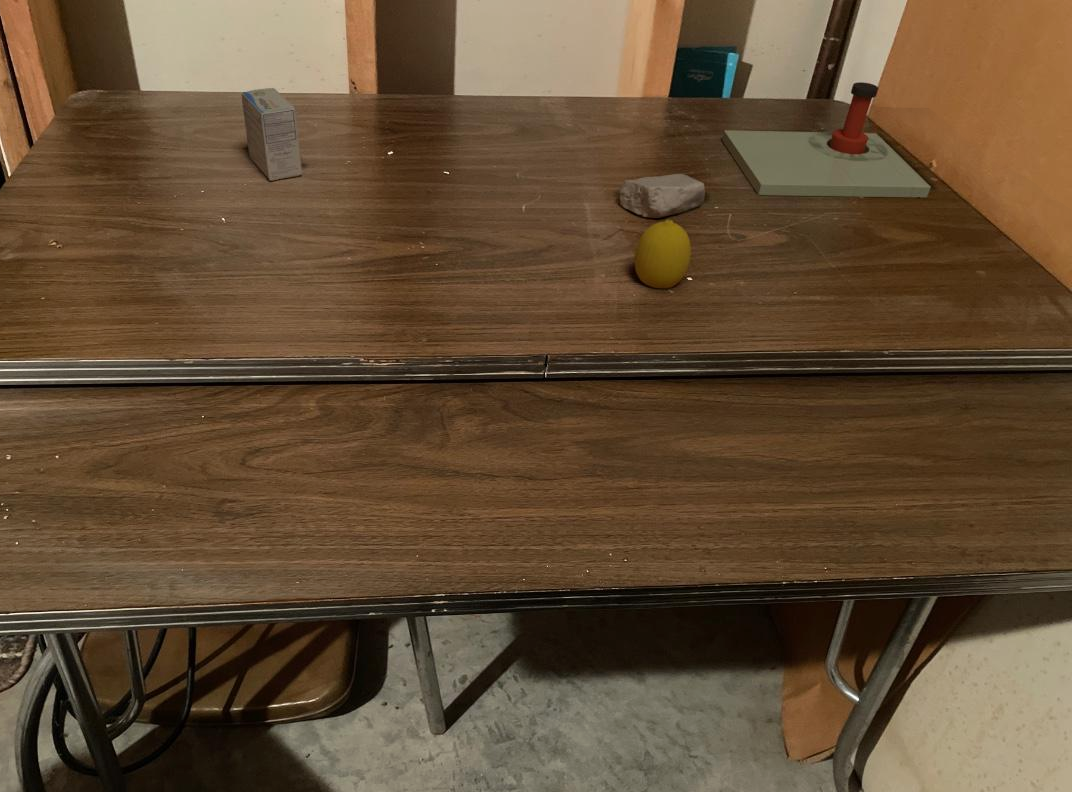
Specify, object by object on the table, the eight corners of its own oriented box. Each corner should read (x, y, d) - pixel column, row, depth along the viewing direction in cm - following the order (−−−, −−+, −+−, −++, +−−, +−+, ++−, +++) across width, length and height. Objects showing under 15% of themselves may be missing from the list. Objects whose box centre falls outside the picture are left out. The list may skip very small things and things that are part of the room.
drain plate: (872, 142, 131) (875, 132, 130) (926, 198, 117) (931, 186, 116) (721, 139, 129) (723, 129, 128) (758, 195, 115) (761, 184, 114)
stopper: (854, 150, 128) (875, 80, 122) (866, 163, 125) (889, 92, 119) (822, 149, 128) (842, 80, 122) (833, 162, 124) (855, 91, 118)
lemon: (619, 283, 97) (630, 213, 92) (663, 274, 99) (676, 204, 94) (648, 309, 93) (661, 237, 88) (693, 298, 95) (708, 228, 90)
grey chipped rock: (677, 222, 116) (689, 176, 114) (708, 230, 111) (722, 181, 109) (613, 209, 112) (625, 160, 110) (642, 217, 106) (656, 165, 105)
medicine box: (303, 176, 114) (297, 107, 109) (268, 182, 113) (260, 112, 107) (281, 153, 120) (275, 86, 114) (248, 159, 118) (240, 90, 112)
